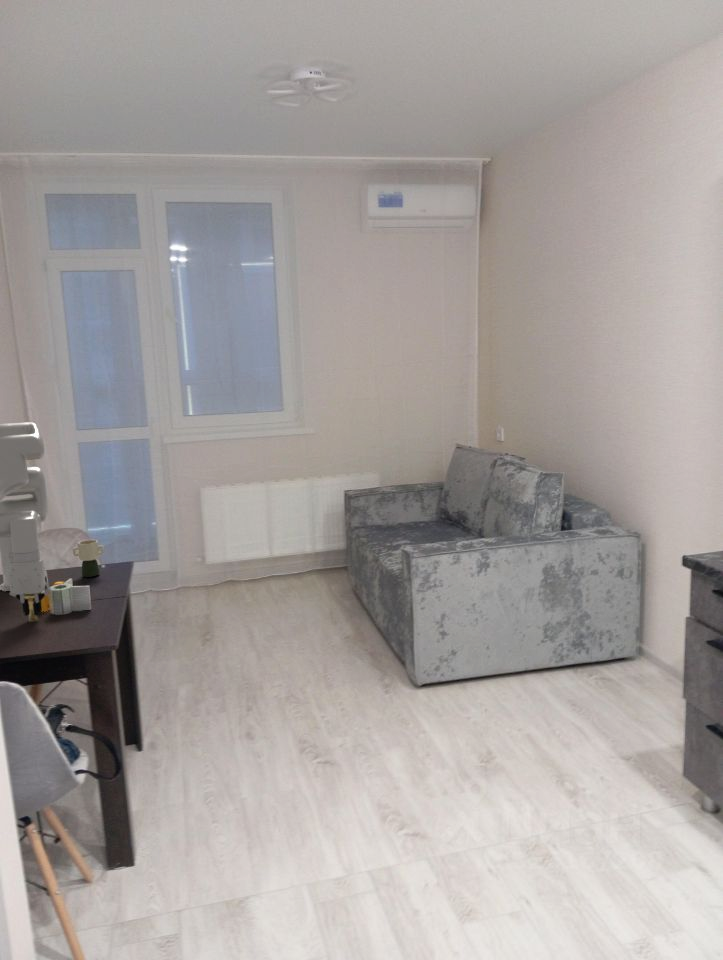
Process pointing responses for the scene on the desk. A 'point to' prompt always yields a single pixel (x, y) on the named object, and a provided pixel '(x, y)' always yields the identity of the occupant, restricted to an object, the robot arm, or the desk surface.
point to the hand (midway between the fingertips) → (32, 613)
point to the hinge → (69, 598)
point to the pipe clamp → (47, 600)
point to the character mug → (89, 556)
